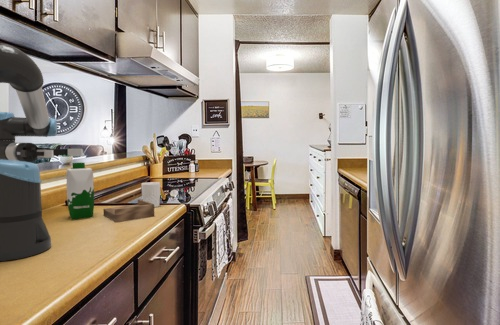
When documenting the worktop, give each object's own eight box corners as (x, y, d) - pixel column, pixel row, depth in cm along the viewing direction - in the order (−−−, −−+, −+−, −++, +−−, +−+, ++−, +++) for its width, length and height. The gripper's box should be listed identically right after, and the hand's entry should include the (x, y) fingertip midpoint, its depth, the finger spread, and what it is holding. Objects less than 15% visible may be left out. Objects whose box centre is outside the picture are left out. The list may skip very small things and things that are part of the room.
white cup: (155, 208, 135) (154, 184, 135) (138, 207, 137) (137, 184, 136) (164, 204, 143) (163, 182, 142) (147, 204, 144) (147, 182, 144)
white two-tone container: (92, 213, 126) (90, 162, 125) (96, 217, 119) (94, 163, 118) (66, 216, 122) (64, 163, 120) (68, 221, 114) (66, 164, 113)
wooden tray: (115, 222, 112) (115, 209, 112) (103, 215, 122) (103, 203, 122) (154, 216, 121) (154, 204, 121) (140, 210, 131) (139, 199, 131)
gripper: (51, 160, 138) (92, 160, 132) (-10, 164, 114) (38, 165, 108) (50, 142, 137) (92, 142, 132) (-11, 143, 113) (37, 143, 108)
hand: (68, 153), depth 120 cm, fingers open, 13 cm apart
